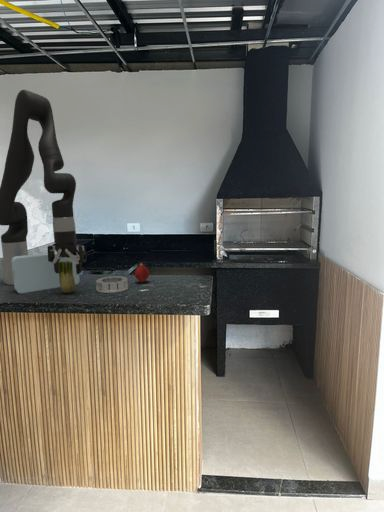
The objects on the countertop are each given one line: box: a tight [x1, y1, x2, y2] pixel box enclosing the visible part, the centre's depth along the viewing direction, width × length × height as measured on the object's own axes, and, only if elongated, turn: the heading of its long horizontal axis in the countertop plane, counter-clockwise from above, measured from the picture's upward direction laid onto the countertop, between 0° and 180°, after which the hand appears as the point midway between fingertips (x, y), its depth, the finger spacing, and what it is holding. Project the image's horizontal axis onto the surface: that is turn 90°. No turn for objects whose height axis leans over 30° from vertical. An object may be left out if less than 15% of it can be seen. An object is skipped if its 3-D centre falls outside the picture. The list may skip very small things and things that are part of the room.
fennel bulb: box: [58, 261, 76, 294], centre depth 126 cm, size 6×5×12 cm
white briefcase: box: [11, 251, 81, 294], centre depth 133 cm, size 23×6×13 cm, turn 126°
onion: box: [134, 263, 150, 283], centre depth 139 cm, size 6×6×8 cm
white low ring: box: [95, 275, 129, 294], centre depth 131 cm, size 12×12×4 cm
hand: (68, 273), depth 126 cm, fingers open, 8 cm apart
